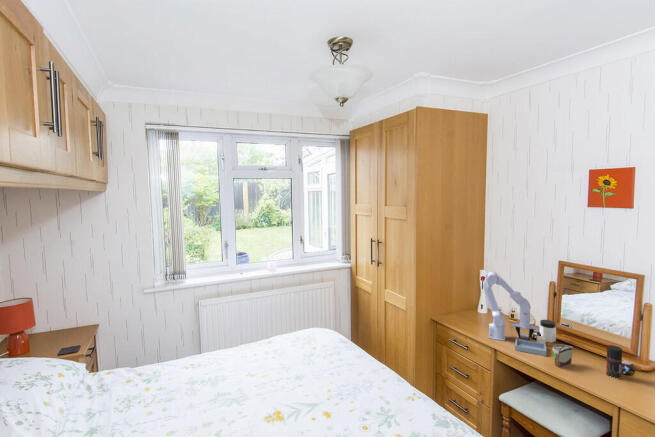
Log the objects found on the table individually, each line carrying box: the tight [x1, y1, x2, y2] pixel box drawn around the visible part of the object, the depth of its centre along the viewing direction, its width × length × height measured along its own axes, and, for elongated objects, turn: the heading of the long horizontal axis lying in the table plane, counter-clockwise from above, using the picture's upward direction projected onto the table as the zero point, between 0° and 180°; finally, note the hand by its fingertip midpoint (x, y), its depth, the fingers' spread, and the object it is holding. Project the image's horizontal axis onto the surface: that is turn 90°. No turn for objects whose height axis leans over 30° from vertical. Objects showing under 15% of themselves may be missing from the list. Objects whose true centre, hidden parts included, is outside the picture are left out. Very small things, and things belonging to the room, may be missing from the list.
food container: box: [551, 343, 574, 369], centre depth 186 cm, size 12×6×10 cm, turn 111°
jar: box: [538, 319, 557, 343], centre depth 216 cm, size 9×8×12 cm
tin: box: [520, 332, 529, 341], centre depth 215 cm, size 5×5×4 cm
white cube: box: [536, 335, 546, 345], centre depth 210 cm, size 4×4×4 cm
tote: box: [514, 338, 547, 357], centre depth 204 cm, size 16×11×3 cm
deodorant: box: [605, 344, 623, 379], centre depth 173 cm, size 6×6×15 cm
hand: (524, 339), depth 215 cm, fingers closed on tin, 5 cm apart
